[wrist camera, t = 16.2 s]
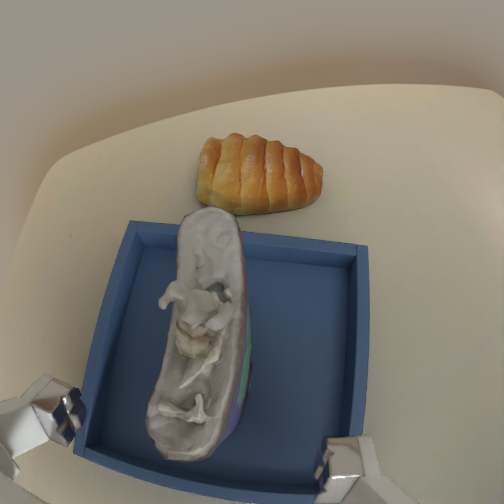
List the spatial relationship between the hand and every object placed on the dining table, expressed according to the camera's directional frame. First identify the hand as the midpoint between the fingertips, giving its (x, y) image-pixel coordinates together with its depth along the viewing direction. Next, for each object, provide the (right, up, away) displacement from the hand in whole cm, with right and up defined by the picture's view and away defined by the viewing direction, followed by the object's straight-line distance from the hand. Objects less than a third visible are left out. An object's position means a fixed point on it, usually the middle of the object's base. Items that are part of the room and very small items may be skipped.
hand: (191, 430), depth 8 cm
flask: (0, -1, +9) cm, 9 cm away
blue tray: (0, -1, +9) cm, 9 cm away
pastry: (+2, +11, +16) cm, 19 cm away
